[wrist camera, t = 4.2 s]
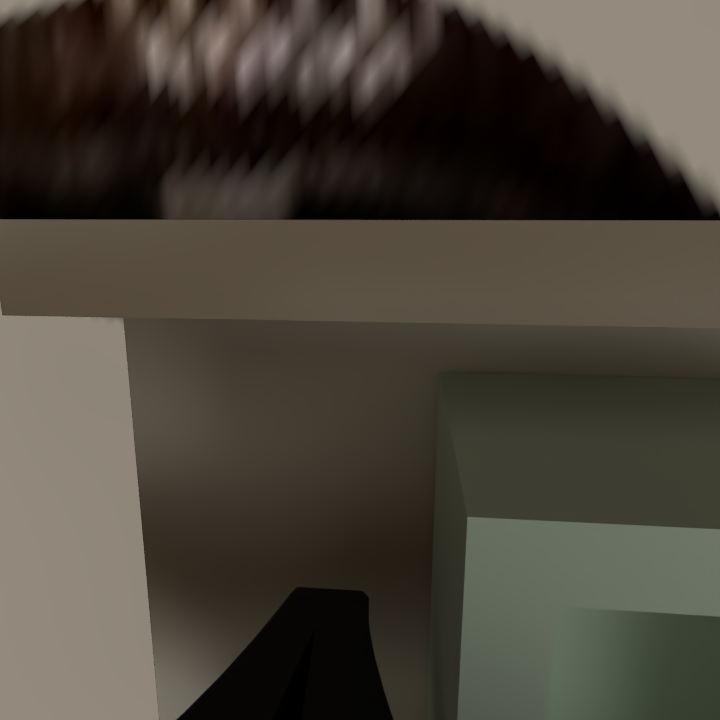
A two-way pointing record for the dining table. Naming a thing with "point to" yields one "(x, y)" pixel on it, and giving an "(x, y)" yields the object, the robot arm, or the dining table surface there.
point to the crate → (575, 548)
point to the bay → (339, 391)
